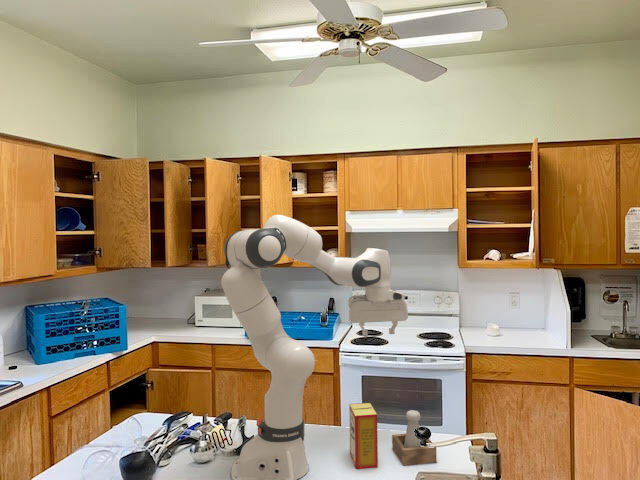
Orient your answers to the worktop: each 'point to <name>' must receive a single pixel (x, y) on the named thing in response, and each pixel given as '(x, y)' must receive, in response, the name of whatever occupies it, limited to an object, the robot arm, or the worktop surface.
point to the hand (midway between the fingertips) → (378, 334)
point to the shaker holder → (412, 452)
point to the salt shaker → (412, 429)
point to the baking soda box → (363, 436)
